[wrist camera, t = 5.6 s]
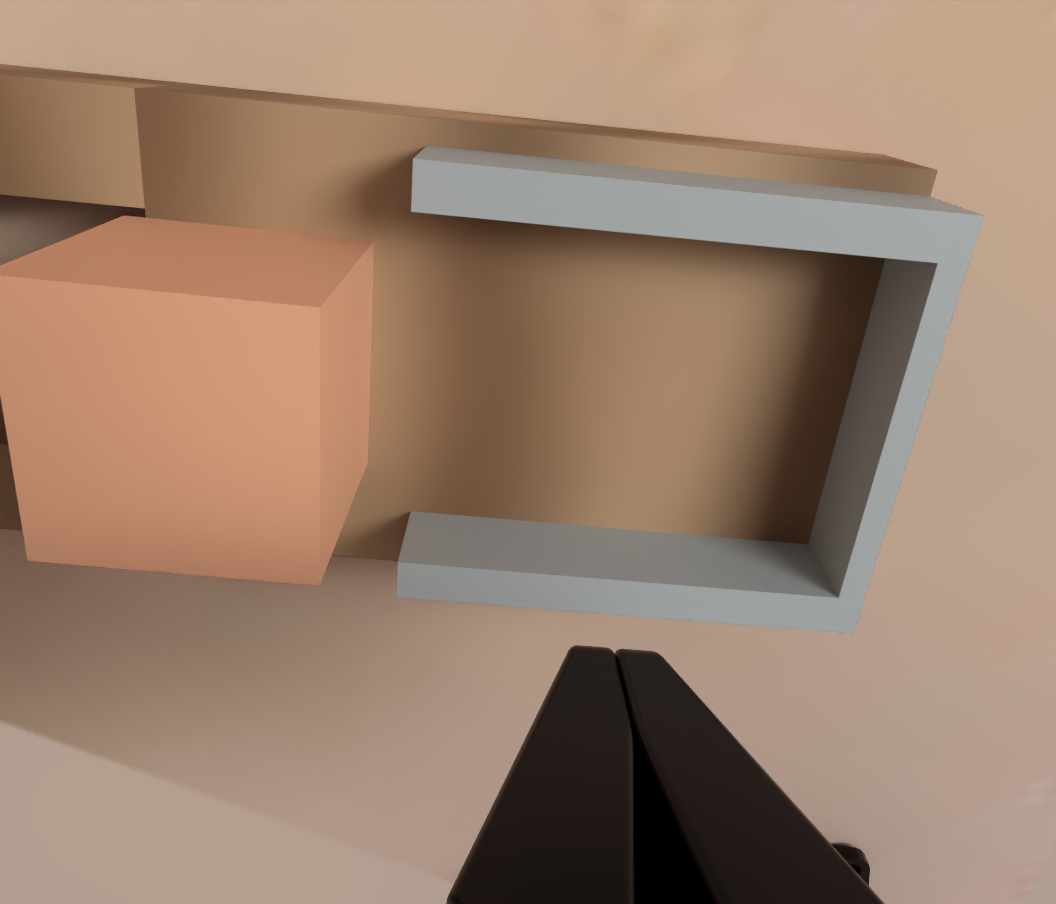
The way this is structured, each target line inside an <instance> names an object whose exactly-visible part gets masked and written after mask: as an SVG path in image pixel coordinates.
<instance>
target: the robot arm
mask: <svg viewBox="0 0 1056 904" xmlns="http://www.w3.org/2000/svg"><path fill="white" fill-rule="evenodd" d="M869 874H870V868H869V864H868V861H867V859H866V857H865V854H864V853H863V852H862V851H861V850H860V849H858V848H854V847H845V848H834V847H833V846H832V845H831V844H830V843H829V841H828V840H827V839H826V838H825V837H824V836H823V835H822V834H821V833H820V831H819V830H818V829H817V828H816V827H815V826H814V825H813V824H812V823H811V821H810V820H809V819H808V818H807V817H806V816H805V815H804V814H803V813H802V811H801V810H800V809H799V808H798V807H797V806H796V805H795V804H794V803H793V801H792V800H791V799H790V798H789V797H788V796H787V795H786V794H785V793H784V792H783V790H782V789H781V788H780V787H779V786H778V785H777V784H776V783H775V782H774V780H773V779H772V778H771V777H770V776H769V775H768V774H767V773H766V772H765V770H764V769H763V768H762V767H761V766H760V765H759V764H758V763H757V762H756V760H755V759H754V758H753V757H752V756H751V755H750V754H749V753H748V752H747V750H746V749H745V748H744V747H743V746H742V745H741V744H740V743H739V742H738V740H737V739H736V738H735V737H734V736H733V735H732V734H731V733H730V732H729V730H728V729H727V728H726V727H725V726H724V725H723V724H722V723H721V722H720V720H719V719H718V718H717V717H716V716H715V715H714V714H713V713H712V712H711V710H710V709H709V708H708V707H707V706H706V705H705V704H704V703H703V702H702V700H701V699H700V698H699V697H698V696H697V695H696V694H695V693H694V692H693V690H692V689H691V688H690V687H689V686H688V685H687V684H686V683H685V682H684V680H683V679H682V678H681V677H680V676H679V675H678V674H677V673H676V672H675V670H674V669H673V668H672V667H671V666H670V665H669V664H668V663H667V662H666V660H665V659H664V658H663V657H662V656H661V655H660V654H658V653H656V652H654V651H644V650H631V649H619V650H617V651H616V652H615V654H614V653H613V651H612V650H610V649H609V648H605V647H592V646H579V645H577V646H573V647H571V648H570V650H569V651H568V653H567V655H566V657H565V659H564V661H563V663H562V665H561V667H560V669H559V671H558V673H557V675H556V677H555V679H554V681H553V683H552V686H551V688H550V690H549V692H548V694H547V696H546V698H545V700H544V702H543V704H542V706H541V708H540V710H539V712H538V714H537V716H536V718H535V720H534V722H533V724H532V726H531V728H530V730H529V732H528V734H527V736H526V739H525V741H524V743H523V745H522V747H521V749H520V751H519V753H518V755H517V757H516V759H515V761H514V763H513V765H512V767H511V769H510V771H509V773H508V775H507V777H506V779H505V781H504V783H503V785H502V787H501V789H500V792H499V794H498V796H497V798H496V800H495V802H494V804H493V806H492V808H491V810H490V812H489V814H488V816H487V818H486V820H485V822H484V824H483V826H482V828H481V830H480V832H479V834H478V836H477V838H476V840H475V842H474V844H473V847H472V849H471V851H470V853H469V855H468V857H467V859H466V861H465V863H464V865H463V867H462V869H461V871H460V873H459V875H458V877H457V879H456V881H455V883H454V885H453V887H452V889H451V891H450V893H449V896H448V898H447V904H884V903H883V901H882V900H881V899H880V898H879V897H878V896H877V895H876V894H875V893H874V891H873V890H872V889H871V888H870V887H869Z"/></svg>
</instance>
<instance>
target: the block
mask: <svg viewBox="0 0 1056 904" xmlns="http://www.w3.org/2000/svg"><path fill="white" fill-rule="evenodd" d="M373 259H374V241H365V240H356V239H346V238H336V237H327V236H317V235H308V234H298V233H288V232H279V231H269V230H260V229H250V228H240V227H231V226H221V225H211V224H202V223H192V222H183V221H173V220H163V219H154V218H144V217H135V216H125V215H124V216H121V217H119V218H116V219H114V220H111V221H109V222H106V223H104V224H101V225H99V226H97V227H94V228H92V229H89V230H87V231H84V232H82V233H79V234H77V235H74V236H72V237H69V238H67V239H64V240H62V241H59V242H57V243H54V244H52V245H50V246H47V247H45V248H42V249H40V250H37V251H35V252H32V253H30V254H27V255H25V256H22V257H20V258H17V259H15V260H12V261H10V262H7V263H5V264H3V265H0V397H1V403H2V409H3V415H4V421H5V427H6V433H7V439H8V445H9V451H10V457H11V463H12V469H13V476H14V482H15V488H16V494H17V500H18V506H19V512H20V518H21V524H22V530H23V536H24V542H25V548H26V554H27V561H36V562H48V563H59V564H71V565H82V566H94V567H106V568H117V569H129V570H140V571H152V572H164V573H175V574H187V575H198V576H210V577H221V578H233V579H245V580H256V581H268V582H279V583H291V584H303V585H314V586H320V583H321V581H322V578H323V576H324V573H325V571H326V568H327V565H328V563H329V560H330V558H331V555H332V553H333V550H334V548H335V545H336V542H337V540H338V537H339V535H340V532H341V530H342V527H343V524H344V522H345V519H346V517H347V514H348V512H349V509H350V507H351V504H352V501H353V499H354V496H355V494H356V491H357V489H358V486H359V483H360V481H361V478H362V476H363V473H364V471H365V468H366V466H367V463H368V435H369V400H370V365H371V329H372V294H373Z"/></svg>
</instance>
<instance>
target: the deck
mask: <svg viewBox="0 0 1056 904" xmlns="http://www.w3.org/2000/svg"><path fill="white" fill-rule="evenodd" d="M426 146H434V147H444V148H454V149H464V150H473V151H483V152H493V153H503V154H513V155H523V156H533V157H543V158H553V159H563V160H573V161H583V162H592V163H602V164H612V165H622V166H632V167H642V168H652V169H662V170H672V171H682V172H692V173H702V174H712V175H721V176H731V177H741V178H751V179H761V180H771V181H781V182H791V183H801V184H811V185H821V186H831V187H840V188H850V189H860V190H870V191H880V192H890V193H900V194H910V195H920V196H930V195H931V192H932V188H933V185H934V181H935V177H936V174H937V170H934V169H931V168H928V167H924V166H921V165H917V164H914V163H910V162H907V161H903V160H900V159H896V158H893V157H889V156H886V155H879V154H869V153H859V152H850V151H840V150H830V149H820V148H811V147H801V146H791V145H781V144H772V143H762V142H752V141H742V140H733V139H723V138H713V137H703V136H694V135H684V134H674V133H664V132H655V131H645V130H635V129H626V128H616V127H606V126H596V125H587V124H577V123H567V122H557V121H548V120H538V119H528V118H518V117H509V116H499V115H489V114H479V113H470V112H460V111H450V110H440V109H431V108H421V107H411V106H401V105H392V104H382V103H372V102H362V101H353V100H343V99H333V98H323V97H314V96H304V95H294V94H284V93H275V92H265V91H255V90H245V89H236V88H226V87H216V86H206V85H197V84H187V83H177V82H167V81H158V80H148V79H138V78H128V77H119V76H109V75H99V74H89V73H80V72H70V71H60V70H50V69H41V68H31V67H21V66H11V65H2V64H0V194H1V195H11V196H21V197H32V198H42V199H52V200H63V201H73V202H84V203H94V204H104V205H115V206H125V207H135V208H145V216H146V218H154V219H163V220H173V221H183V222H192V223H202V224H211V225H221V226H231V227H240V228H250V229H260V230H269V231H279V232H288V233H298V234H308V235H317V236H327V237H336V238H346V239H356V240H365V241H374V259H373V294H372V329H371V365H370V400H369V435H368V463H367V466H366V468H365V471H364V473H363V476H362V478H361V481H360V483H359V486H358V489H357V491H356V494H355V496H354V499H353V501H352V504H351V507H350V509H349V512H348V514H347V517H346V519H345V522H344V524H343V527H342V530H341V532H340V535H339V537H338V540H337V542H336V545H335V548H334V550H333V553H332V556H344V557H356V558H369V559H381V560H393V561H398V559H399V555H400V551H401V548H402V544H403V540H404V536H405V532H406V528H407V524H408V520H409V516H410V512H411V511H414V512H426V513H438V514H450V515H462V516H474V517H486V518H498V519H510V520H522V521H534V522H546V523H558V524H570V525H582V526H594V527H606V528H618V529H630V530H642V531H654V532H665V533H677V534H689V535H701V536H713V537H725V538H737V539H749V540H761V541H773V542H785V543H797V544H808V543H809V539H810V536H811V532H812V528H813V524H814V521H815V517H816V513H817V510H818V506H819V502H820V498H821V495H822V491H823V487H824V484H825V480H826V476H827V473H828V469H829V465H830V461H831V458H832V454H833V450H834V447H835V443H836V439H837V436H838V432H839V428H840V424H841V421H842V417H843V413H844V410H845V406H846V402H847V398H848V395H849V391H850V387H851V384H852V380H853V376H854V373H855V369H856V365H857V361H858V358H859V354H860V350H861V347H862V343H863V339H864V336H865V332H866V328H867V324H868V321H869V317H870V313H871V310H872V306H873V302H874V298H875V295H876V291H877V287H878V284H879V280H880V276H881V273H882V269H883V265H884V261H885V258H880V257H869V256H859V255H849V254H839V253H828V252H818V251H808V250H798V249H787V248H777V247H767V246H757V245H746V244H736V243H726V242H716V241H705V240H695V239H685V238H675V237H664V236H654V235H644V234H634V233H624V232H613V231H603V230H593V229H583V228H572V227H562V226H552V225H542V224H531V223H521V222H511V221H501V220H490V219H480V218H470V217H460V216H449V215H439V214H429V213H419V212H411V198H412V172H413V158H414V157H415V156H416V155H417V154H419V153H420V152H421V151H422V150H423V149H424V148H425V147H426ZM0 529H12V530H22V524H21V518H20V512H19V506H18V500H17V494H16V488H15V482H14V476H13V469H12V463H11V457H10V451H9V445H8V439H7V433H6V427H5V421H4V415H3V409H2V403H1V397H0Z"/></svg>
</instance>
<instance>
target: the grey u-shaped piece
mask: <svg viewBox="0 0 1056 904" xmlns="http://www.w3.org/2000/svg"><path fill="white" fill-rule="evenodd" d="M411 212H419V213H429V214H439V215H449V216H460V217H470V218H480V219H490V220H501V221H511V222H521V223H531V224H542V225H552V226H562V227H572V228H583V229H593V230H603V231H613V232H624V233H634V234H644V235H654V236H664V237H675V238H685V239H695V240H705V241H716V242H726V243H736V244H746V245H757V246H767V247H777V248H787V249H798V250H808V251H818V252H828V253H839V254H849V255H859V256H869V257H880V258H885V261H884V265H883V269H882V273H881V276H880V280H879V284H878V287H877V291H876V295H875V298H874V302H873V306H872V310H871V313H870V317H869V321H868V324H867V328H866V332H865V336H864V339H863V343H862V347H861V350H860V354H859V358H858V361H857V365H856V369H855V373H854V376H853V380H852V384H851V387H850V391H849V395H848V398H847V402H846V406H845V410H844V413H843V417H842V421H841V424H840V428H839V432H838V436H837V439H836V443H835V447H834V450H833V454H832V458H831V461H830V465H829V469H828V473H827V476H826V480H825V484H824V487H823V491H822V495H821V498H820V502H819V506H818V510H817V513H816V517H815V521H814V524H813V528H812V532H811V536H810V539H809V543H808V544H797V543H785V542H773V541H761V540H749V539H737V538H725V537H713V536H701V535H689V534H677V533H665V532H654V531H642V530H630V529H618V528H606V527H594V526H582V525H570V524H558V523H546V522H534V521H522V520H510V519H498V518H486V517H474V516H462V515H450V514H438V513H426V512H414V511H411V512H410V516H409V520H408V524H407V528H406V532H405V536H404V540H403V544H402V548H401V551H400V555H399V559H398V569H397V595H396V598H409V599H421V600H434V601H447V602H459V603H472V604H484V605H497V606H509V607H522V608H535V609H547V610H560V611H572V612H585V613H597V614H610V615H623V616H635V617H648V618H660V619H673V620H685V621H698V622H711V623H723V624H736V625H748V626H761V627H773V628H786V629H799V630H811V631H824V632H836V633H849V634H854V631H855V628H856V624H857V621H858V618H859V615H860V612H861V608H862V605H863V602H864V599H865V595H866V592H867V589H868V586H869V583H870V579H871V576H872V573H873V570H874V567H875V563H876V560H877V557H878V554H879V551H880V547H881V544H882V541H883V538H884V534H885V531H886V528H887V525H888V522H889V518H890V515H891V512H892V509H893V506H894V502H895V499H896V496H897V493H898V490H899V486H900V483H901V480H902V477H903V473H904V470H905V467H906V464H907V461H908V457H909V454H910V451H911V448H912V445H913V441H914V438H915V435H916V432H917V429H918V425H919V422H920V419H921V416H922V412H923V409H924V406H925V403H926V400H927V396H928V393H929V390H930V387H931V384H932V380H933V377H934V374H935V371H936V368H937V364H938V361H939V358H940V355H941V351H942V348H943V345H944V342H945V339H946V335H947V332H948V329H949V326H950V323H951V319H952V316H953V313H954V310H955V307H956V303H957V300H958V297H959V294H960V291H961V287H962V284H963V281H964V278H965V274H966V271H967V268H968V265H969V262H970V258H971V255H972V252H973V249H974V246H975V242H976V239H977V236H978V233H979V230H980V226H981V223H982V220H983V217H984V216H983V215H980V214H977V213H975V212H972V211H969V210H966V209H963V208H961V207H958V206H955V205H952V204H949V203H947V202H944V201H941V200H938V199H936V198H933V197H930V196H920V195H910V194H900V193H890V192H880V191H870V190H860V189H850V188H840V187H831V186H821V185H811V184H801V183H791V182H781V181H771V180H761V179H751V178H741V177H731V176H721V175H712V174H702V173H692V172H682V171H672V170H662V169H652V168H642V167H632V166H622V165H612V164H602V163H592V162H583V161H573V160H563V159H553V158H543V157H533V156H523V155H513V154H503V153H493V152H483V151H473V150H464V149H454V148H444V147H434V146H426V147H425V148H424V149H423V150H422V151H421V152H420V153H419V154H417V155H416V156H415V157H414V158H413V172H412V198H411Z"/></svg>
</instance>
